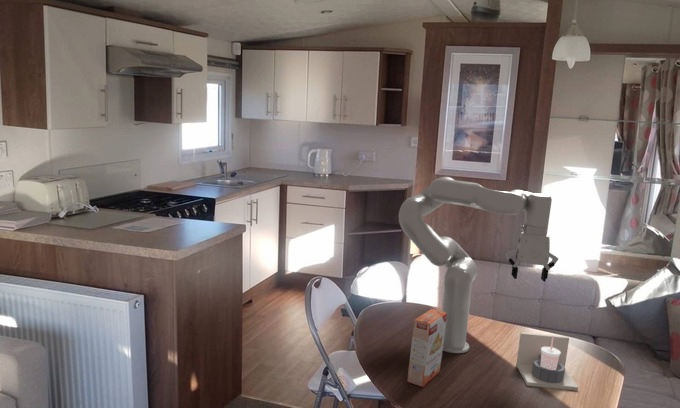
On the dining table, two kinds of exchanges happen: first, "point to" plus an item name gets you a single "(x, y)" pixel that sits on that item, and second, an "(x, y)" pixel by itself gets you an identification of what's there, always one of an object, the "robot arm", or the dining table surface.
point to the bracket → (532, 360)
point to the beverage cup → (549, 357)
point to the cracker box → (426, 347)
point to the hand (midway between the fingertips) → (528, 279)
